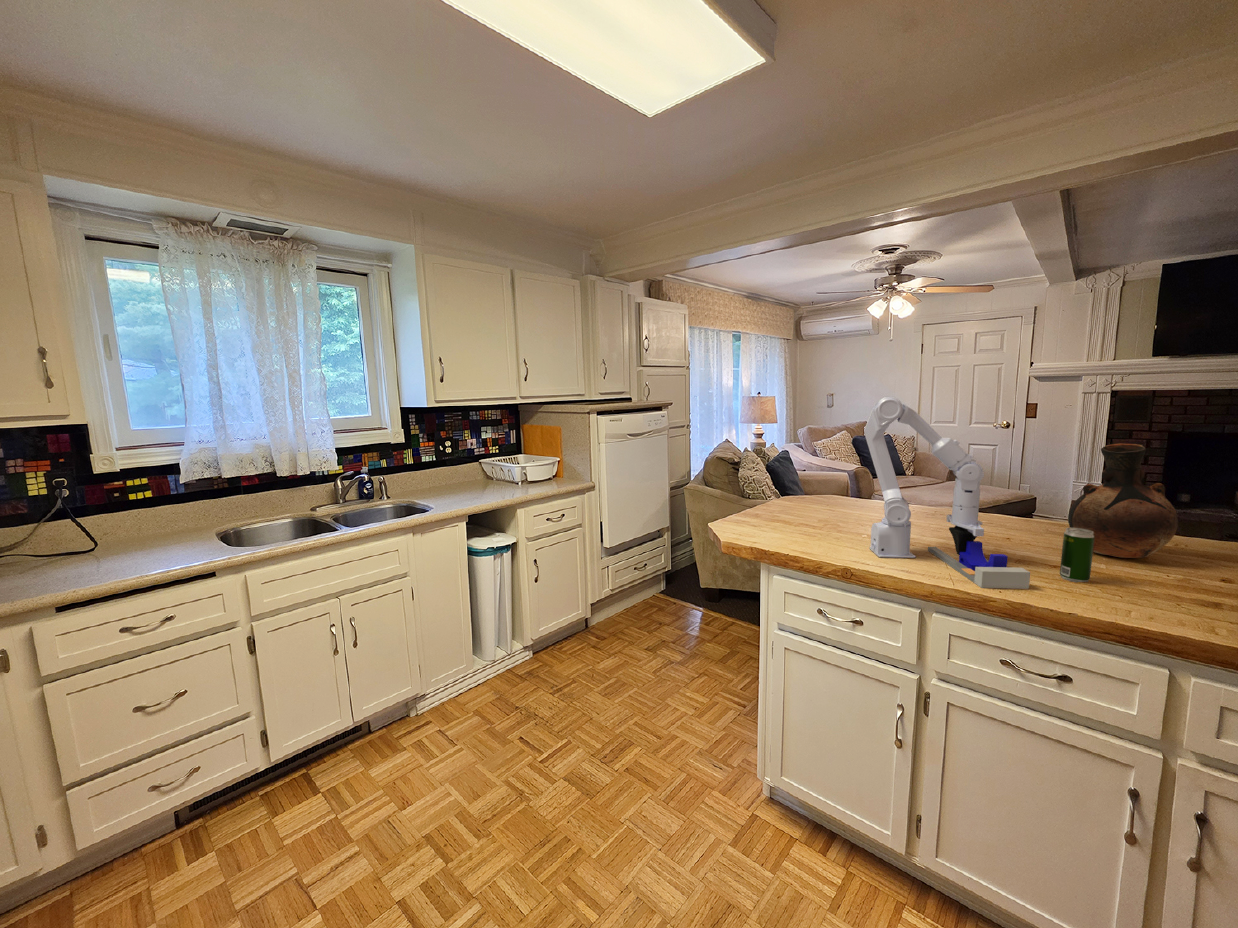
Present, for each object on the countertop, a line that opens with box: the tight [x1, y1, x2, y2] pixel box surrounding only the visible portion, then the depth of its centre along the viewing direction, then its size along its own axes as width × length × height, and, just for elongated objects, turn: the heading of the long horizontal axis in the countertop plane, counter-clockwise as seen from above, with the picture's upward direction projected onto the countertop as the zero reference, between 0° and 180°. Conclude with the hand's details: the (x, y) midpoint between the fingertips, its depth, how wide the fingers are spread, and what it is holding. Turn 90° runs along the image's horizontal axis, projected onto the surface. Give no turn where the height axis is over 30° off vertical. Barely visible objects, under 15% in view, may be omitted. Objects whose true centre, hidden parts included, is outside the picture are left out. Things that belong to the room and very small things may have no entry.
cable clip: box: [958, 540, 1008, 571], centre depth 127 cm, size 12×4×6 cm, turn 172°
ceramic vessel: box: [1067, 443, 1179, 559], centre depth 133 cm, size 21×18×30 cm
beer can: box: [1059, 527, 1095, 583], centre depth 120 cm, size 5×5×12 cm
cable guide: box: [927, 546, 1031, 590], centre depth 129 cm, size 10×27×4 cm, turn 172°
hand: (962, 554), depth 135 cm, fingers closed
